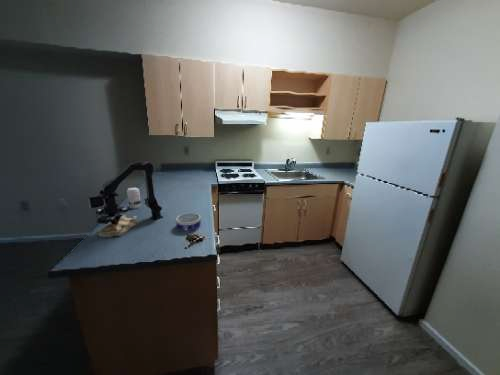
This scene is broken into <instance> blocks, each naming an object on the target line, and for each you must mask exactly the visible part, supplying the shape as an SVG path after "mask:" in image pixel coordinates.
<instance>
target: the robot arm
mask: <svg viewBox="0 0 500 375" xmlns="http://www.w3.org/2000/svg"><path fill="white" fill-rule="evenodd" d="M134 171H141V172H142V174H143V177H144V183H145V184H144V185H145V191H146V198H144V199H143V200H144V205H145V206H146V207H147V208H149V209H150V213H151V216H150V217H149V218H150V219H152V220H154V221H156V220H159V219H162V218H164V216H163V215H162V213H161V211H162V209H163V207H162V206H160V205H159V203H158V200H157V198H156V196H155V190H154V182H153V173H154V165H153V164H152V163H151V162H148V161H142V162H131V163H130V162H129V163H128V165H127V166H126V167H124V168H123V169H122V170H121V171H120V172H119V173H118V174H117V175H115V176H114V177H113V178H111V179H109V180H108V181H106V182H105V183H103V184H101V188H100V191H99V192H98V194H97V195H94V196H88V206H89V208H90V209H95V208H97V209H96V210H95V214H96V215H97V216H100V217H98V218H97V219H96V223H97V224H103V225H107V224H111V223H112V224H116V227H117V225H118V222H119V220H120V218H121V217H122V216H123V215H122V214H120V213H122V212H123V213H127V212H128V208H127V207H126V206H120V205H119V204H118V203H117V198H116V197H118V196H120V194H119V193H117V192H116V191H117V189H118V187H119V185H120V184H121V183H123V182H124V180H125V179H126V178H128V177H129V176H130V175H131V174H132V173H133V172H134ZM104 205H105V206H104ZM101 207H103V208H101Z"/></svg>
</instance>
